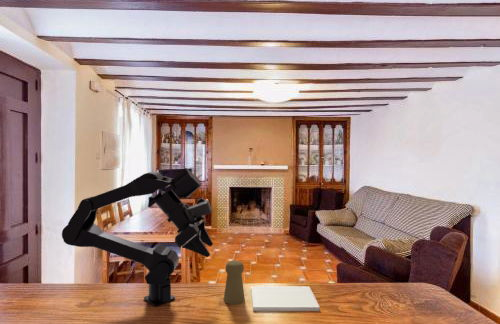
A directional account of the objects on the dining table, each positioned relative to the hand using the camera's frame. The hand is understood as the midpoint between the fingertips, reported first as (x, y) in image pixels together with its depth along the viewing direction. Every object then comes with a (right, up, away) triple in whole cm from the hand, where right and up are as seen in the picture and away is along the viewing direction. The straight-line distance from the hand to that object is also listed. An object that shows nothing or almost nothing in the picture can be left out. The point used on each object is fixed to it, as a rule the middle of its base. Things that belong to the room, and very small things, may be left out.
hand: (210, 250), depth 94 cm
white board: (+21, -15, +2) cm, 25 cm away
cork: (+7, -15, +1) cm, 16 cm away
